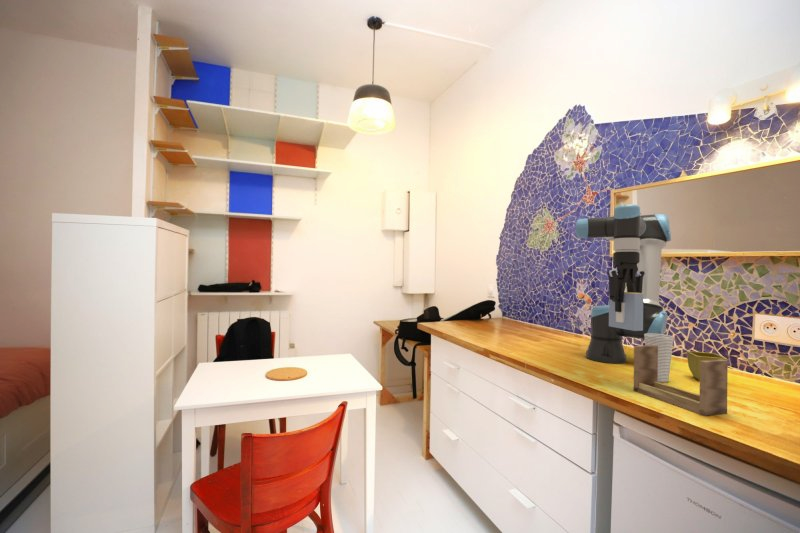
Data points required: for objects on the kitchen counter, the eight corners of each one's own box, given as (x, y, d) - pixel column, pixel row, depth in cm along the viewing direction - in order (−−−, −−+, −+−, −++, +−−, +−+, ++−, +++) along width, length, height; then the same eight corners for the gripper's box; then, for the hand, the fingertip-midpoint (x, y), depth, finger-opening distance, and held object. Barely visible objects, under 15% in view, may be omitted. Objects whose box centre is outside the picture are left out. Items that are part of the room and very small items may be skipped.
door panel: (616, 325, 128) (617, 291, 129) (642, 330, 119) (643, 293, 119) (608, 326, 127) (609, 291, 128) (634, 330, 118) (634, 293, 118)
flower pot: (715, 378, 132) (715, 352, 132) (727, 385, 124) (727, 358, 124) (685, 375, 135) (685, 350, 135) (695, 382, 127) (696, 355, 127)
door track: (652, 388, 119) (653, 344, 119) (727, 413, 99) (727, 360, 99) (633, 390, 117) (634, 346, 117) (705, 416, 96) (706, 362, 97)
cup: (638, 376, 133) (638, 332, 133) (662, 376, 133) (662, 333, 133) (653, 383, 125) (654, 337, 125) (679, 384, 124) (679, 337, 124)
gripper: (635, 252, 129) (635, 320, 129) (597, 251, 125) (596, 320, 124) (656, 251, 122) (655, 323, 122) (615, 250, 118) (614, 324, 117)
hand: (625, 321), depth 123 cm, fingers closed on door panel, 3 cm apart
